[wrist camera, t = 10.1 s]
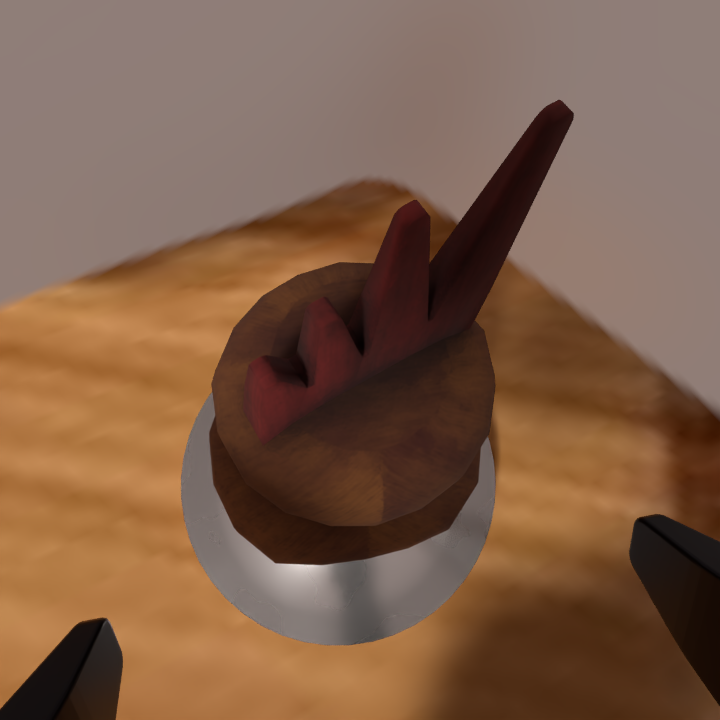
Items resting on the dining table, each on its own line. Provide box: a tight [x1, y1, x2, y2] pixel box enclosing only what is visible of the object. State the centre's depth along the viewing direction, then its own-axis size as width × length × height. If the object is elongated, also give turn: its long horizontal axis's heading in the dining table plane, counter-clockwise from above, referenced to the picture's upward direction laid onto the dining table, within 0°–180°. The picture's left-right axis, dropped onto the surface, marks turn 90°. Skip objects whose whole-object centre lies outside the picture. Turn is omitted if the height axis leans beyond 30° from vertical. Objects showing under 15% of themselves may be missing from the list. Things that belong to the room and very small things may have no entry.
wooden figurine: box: [209, 100, 574, 565], centre depth 11 cm, size 7×6×15 cm
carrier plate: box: [181, 393, 495, 645], centre depth 19 cm, size 11×11×2 cm
